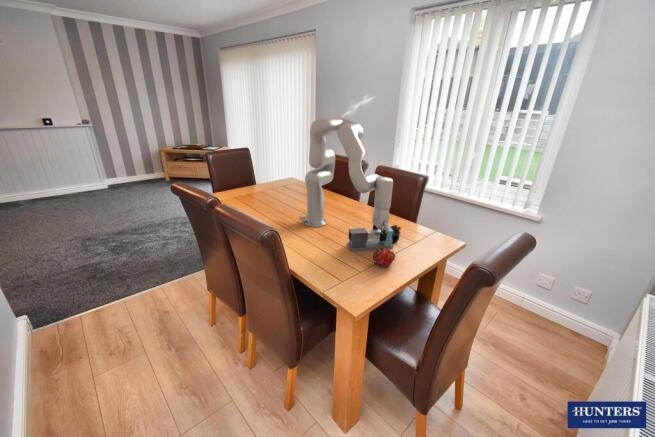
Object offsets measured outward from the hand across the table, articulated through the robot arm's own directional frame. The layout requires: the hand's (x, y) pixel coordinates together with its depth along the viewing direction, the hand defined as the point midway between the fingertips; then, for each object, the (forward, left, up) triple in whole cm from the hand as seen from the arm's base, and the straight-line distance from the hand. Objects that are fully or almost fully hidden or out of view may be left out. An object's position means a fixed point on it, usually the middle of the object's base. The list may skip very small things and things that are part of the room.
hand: (379, 236), depth 136 cm
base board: (-4, 0, -5) cm, 7 cm away
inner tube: (-2, 0, -1) cm, 2 cm away
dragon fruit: (-4, -16, -6) cm, 18 cm away
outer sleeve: (-11, 0, -4) cm, 12 cm away
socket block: (+4, 0, -4) cm, 6 cm away
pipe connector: (+10, +10, -6) cm, 15 cm away
